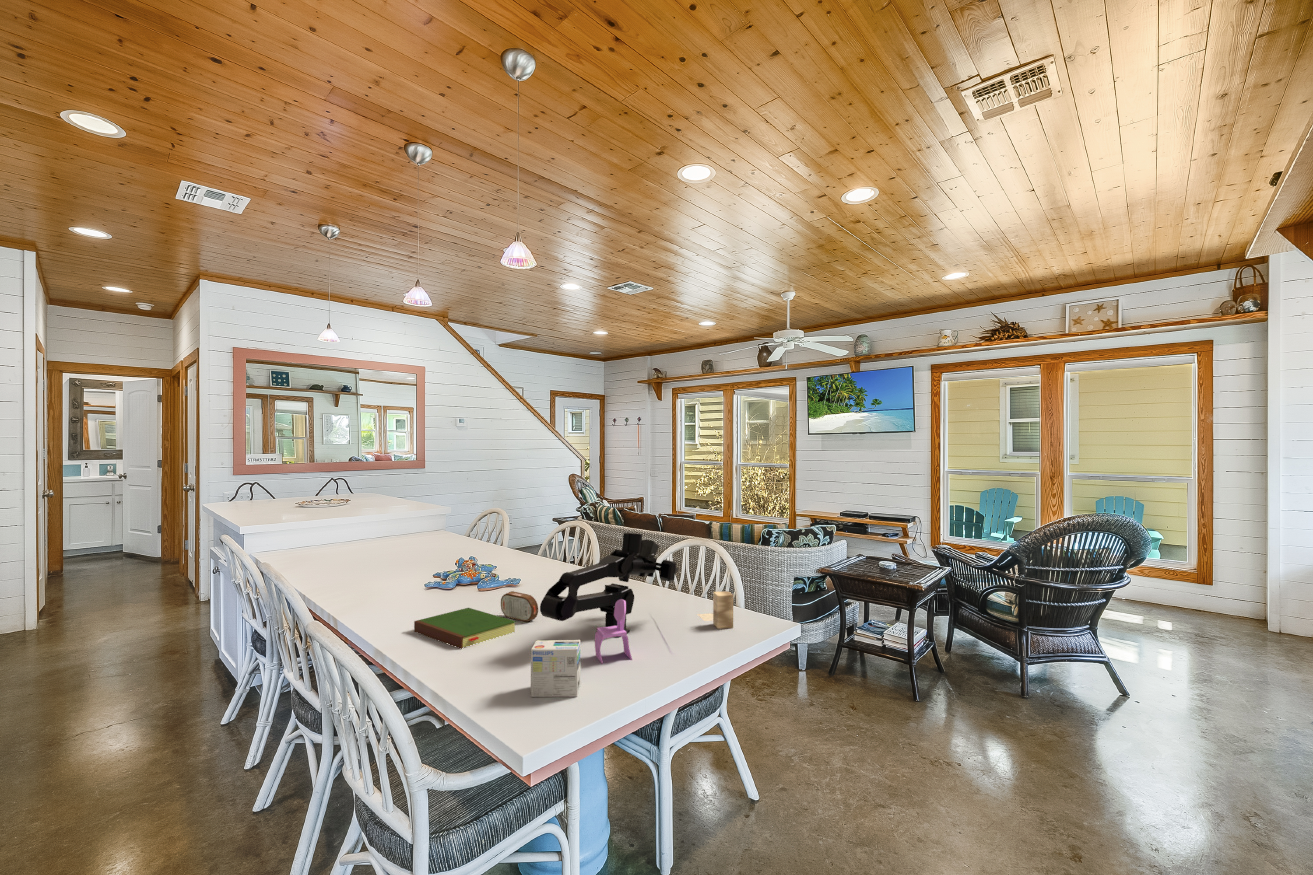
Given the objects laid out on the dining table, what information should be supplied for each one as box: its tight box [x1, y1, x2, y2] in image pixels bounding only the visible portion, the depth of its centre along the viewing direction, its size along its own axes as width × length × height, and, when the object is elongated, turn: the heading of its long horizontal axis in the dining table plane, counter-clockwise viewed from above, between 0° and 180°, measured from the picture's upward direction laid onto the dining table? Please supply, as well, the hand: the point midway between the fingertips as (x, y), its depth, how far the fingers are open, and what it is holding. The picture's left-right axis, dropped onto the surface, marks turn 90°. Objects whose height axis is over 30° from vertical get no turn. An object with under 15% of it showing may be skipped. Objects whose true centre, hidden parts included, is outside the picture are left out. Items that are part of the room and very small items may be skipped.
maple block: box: [712, 591, 734, 630], centre depth 176 cm, size 5×5×10 cm
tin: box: [500, 590, 539, 623], centre depth 184 cm, size 15×3×8 cm, turn 58°
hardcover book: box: [413, 607, 517, 650], centre depth 170 cm, size 25×19×4 cm
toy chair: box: [594, 599, 633, 665], centre depth 150 cm, size 8×9×15 cm
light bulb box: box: [530, 639, 581, 698], centre depth 129 cm, size 11×7×11 cm, turn 92°
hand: (666, 567), depth 189 cm, fingers open, 9 cm apart
